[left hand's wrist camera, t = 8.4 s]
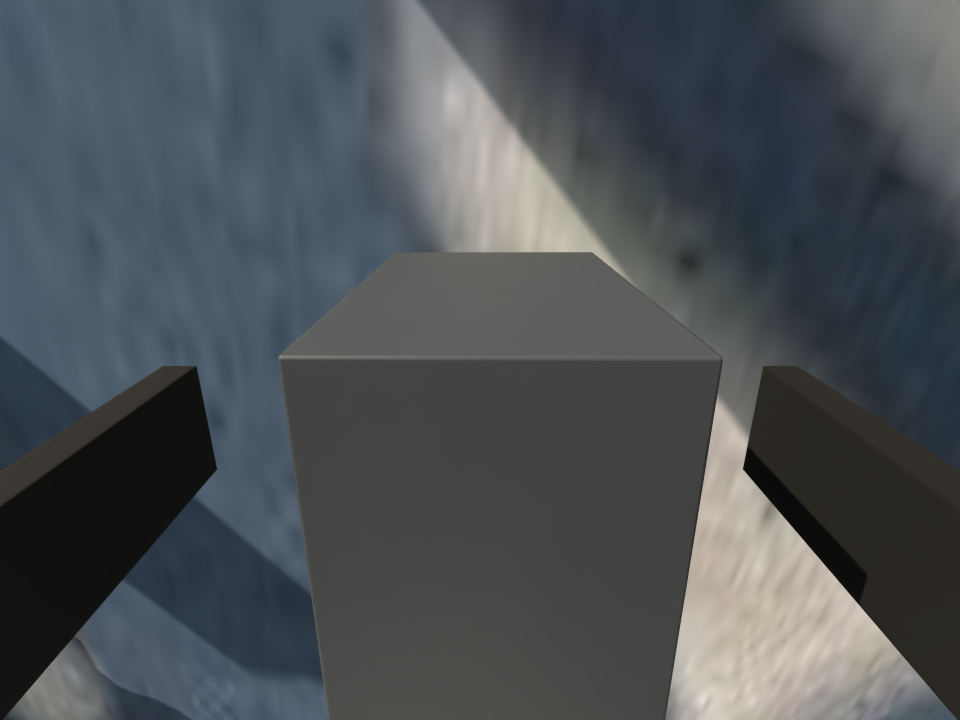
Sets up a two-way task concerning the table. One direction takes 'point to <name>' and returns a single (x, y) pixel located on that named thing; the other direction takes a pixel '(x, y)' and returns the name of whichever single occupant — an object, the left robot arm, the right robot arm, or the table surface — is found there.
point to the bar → (498, 488)
